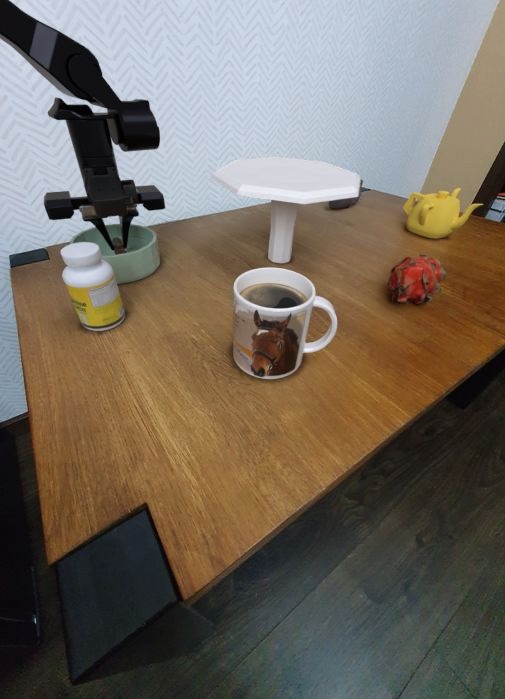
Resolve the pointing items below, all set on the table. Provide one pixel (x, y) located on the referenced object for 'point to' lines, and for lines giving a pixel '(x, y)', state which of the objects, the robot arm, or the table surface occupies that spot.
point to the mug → (275, 321)
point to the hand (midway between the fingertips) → (119, 248)
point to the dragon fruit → (416, 279)
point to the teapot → (435, 213)
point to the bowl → (139, 251)
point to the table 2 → (287, 191)
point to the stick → (118, 246)
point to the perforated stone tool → (345, 200)
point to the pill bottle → (92, 286)
